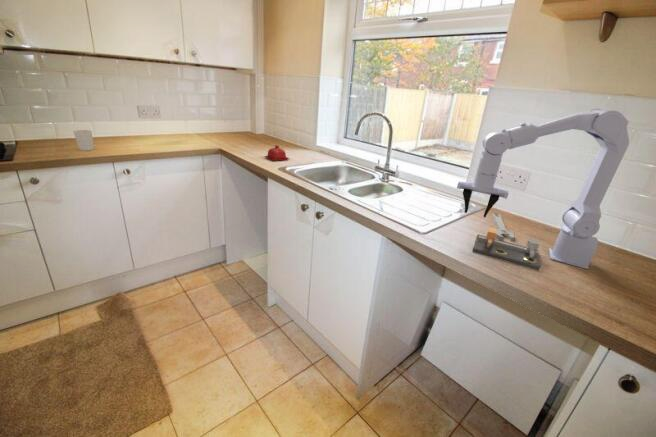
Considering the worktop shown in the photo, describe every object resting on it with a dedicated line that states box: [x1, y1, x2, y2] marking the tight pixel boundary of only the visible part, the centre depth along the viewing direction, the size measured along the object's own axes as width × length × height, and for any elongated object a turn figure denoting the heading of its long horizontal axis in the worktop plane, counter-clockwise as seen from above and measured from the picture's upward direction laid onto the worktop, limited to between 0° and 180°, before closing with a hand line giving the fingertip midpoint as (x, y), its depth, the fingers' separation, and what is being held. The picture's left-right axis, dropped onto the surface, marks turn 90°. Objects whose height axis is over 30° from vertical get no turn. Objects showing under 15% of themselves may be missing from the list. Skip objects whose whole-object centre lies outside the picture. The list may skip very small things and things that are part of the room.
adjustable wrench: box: [492, 212, 515, 242], centre depth 118 cm, size 25×6×2 cm, turn 156°
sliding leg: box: [485, 227, 498, 248], centre depth 100 cm, size 2×8×4 cm, turn 150°
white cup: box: [73, 129, 95, 152], centre depth 174 cm, size 8×8×10 cm
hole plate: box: [472, 234, 541, 271], centre depth 98 cm, size 18×12×5 cm, turn 60°
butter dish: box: [264, 145, 290, 162], centre depth 188 cm, size 12×12×8 cm
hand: (475, 214), depth 102 cm, fingers open, 5 cm apart
